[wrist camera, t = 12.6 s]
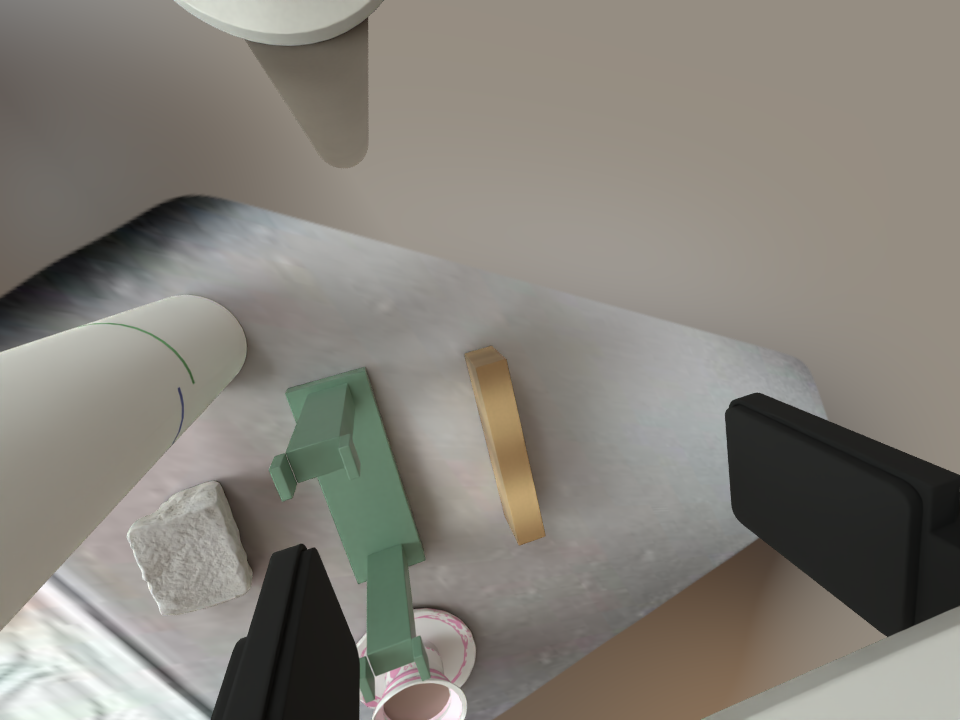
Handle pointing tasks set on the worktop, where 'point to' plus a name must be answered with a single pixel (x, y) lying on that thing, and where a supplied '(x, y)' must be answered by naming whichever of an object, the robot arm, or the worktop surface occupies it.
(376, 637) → the hanger stand
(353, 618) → the worktop surface
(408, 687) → the teacup
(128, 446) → the cylindrical container
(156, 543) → the grey stone block
